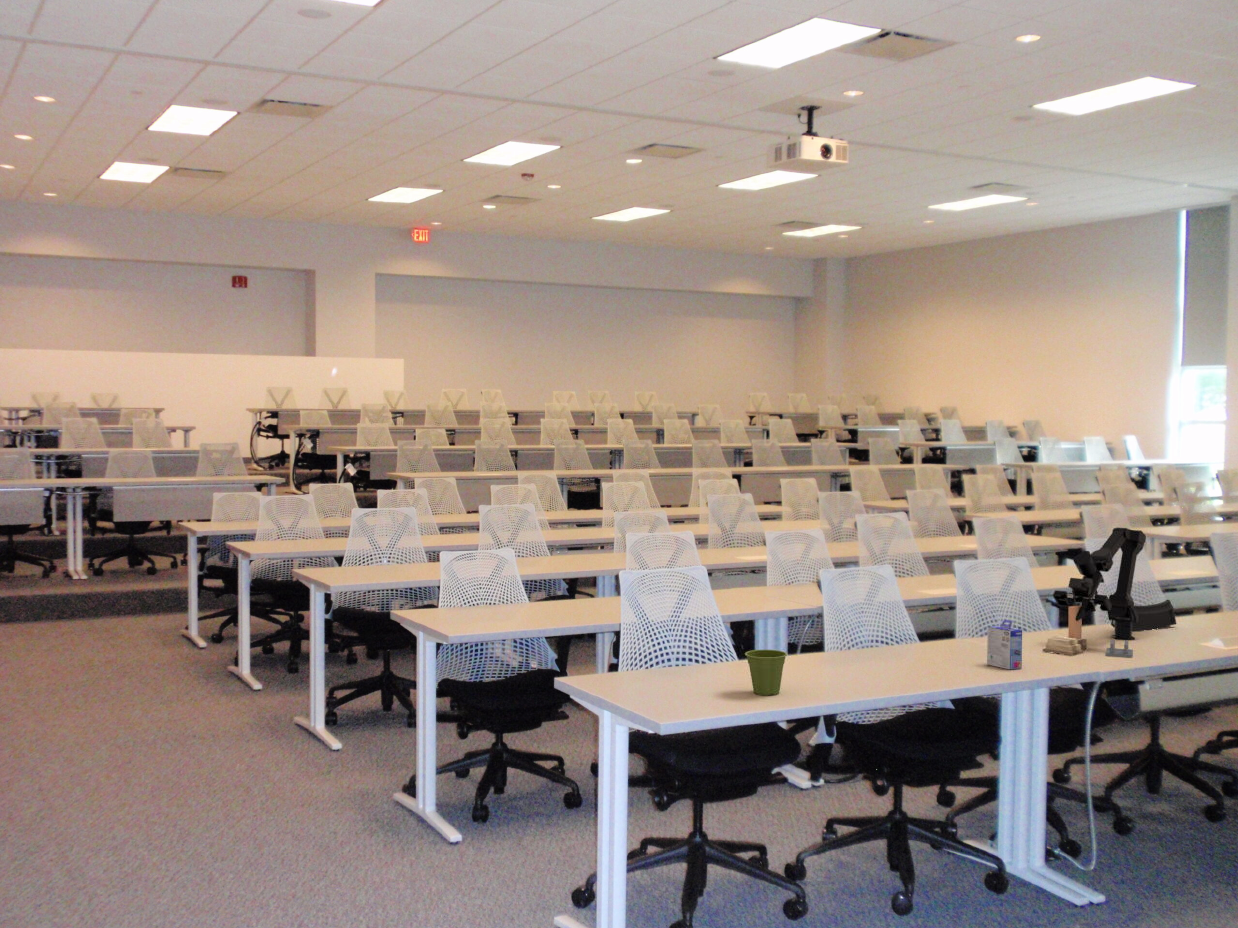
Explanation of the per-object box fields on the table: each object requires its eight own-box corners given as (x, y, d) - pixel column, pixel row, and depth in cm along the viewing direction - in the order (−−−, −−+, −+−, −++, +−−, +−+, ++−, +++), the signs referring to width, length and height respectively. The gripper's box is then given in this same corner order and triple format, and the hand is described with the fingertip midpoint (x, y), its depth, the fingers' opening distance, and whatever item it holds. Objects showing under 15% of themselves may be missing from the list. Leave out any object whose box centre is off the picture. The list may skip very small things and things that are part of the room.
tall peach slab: (1075, 637, 387) (1076, 605, 387) (1081, 638, 385) (1081, 605, 385) (1068, 639, 384) (1068, 606, 383) (1074, 640, 382) (1074, 607, 382)
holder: (1106, 650, 382) (1107, 638, 382) (1133, 652, 379) (1133, 640, 379) (1105, 655, 373) (1105, 643, 373) (1132, 657, 370) (1132, 645, 370)
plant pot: (744, 688, 326) (744, 649, 326) (786, 688, 325) (786, 649, 325) (745, 697, 315) (745, 656, 314) (788, 698, 314) (788, 657, 313)
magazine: (1174, 602, 433) (1118, 583, 421) (1181, 603, 430) (1126, 584, 418) (1164, 646, 431) (1108, 628, 419) (1171, 647, 428) (1116, 630, 416)
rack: (1065, 646, 390) (1065, 633, 390) (1093, 650, 383) (1093, 636, 383) (1042, 651, 381) (1042, 638, 381) (1071, 655, 373) (1071, 641, 373)
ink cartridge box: (1023, 668, 353) (1023, 622, 353) (1010, 670, 350) (1010, 623, 350) (999, 663, 362) (999, 617, 361) (986, 664, 359) (986, 619, 359)
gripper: (1055, 566, 394) (1038, 601, 387) (1107, 571, 379) (1091, 607, 372) (1066, 587, 399) (1050, 622, 392) (1119, 592, 385) (1102, 628, 378)
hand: (1073, 619), depth 383 cm, fingers closed on tall peach slab, 2 cm apart
